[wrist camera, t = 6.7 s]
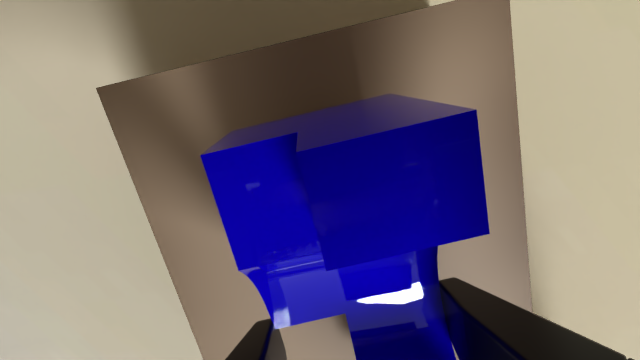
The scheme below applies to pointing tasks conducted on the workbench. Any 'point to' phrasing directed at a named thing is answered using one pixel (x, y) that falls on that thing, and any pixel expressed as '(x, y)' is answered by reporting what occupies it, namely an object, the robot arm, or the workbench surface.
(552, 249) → the workbench surface
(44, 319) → the workbench surface
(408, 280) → the cable holder
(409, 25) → the plate
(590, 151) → the workbench surface
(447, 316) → the robot arm
